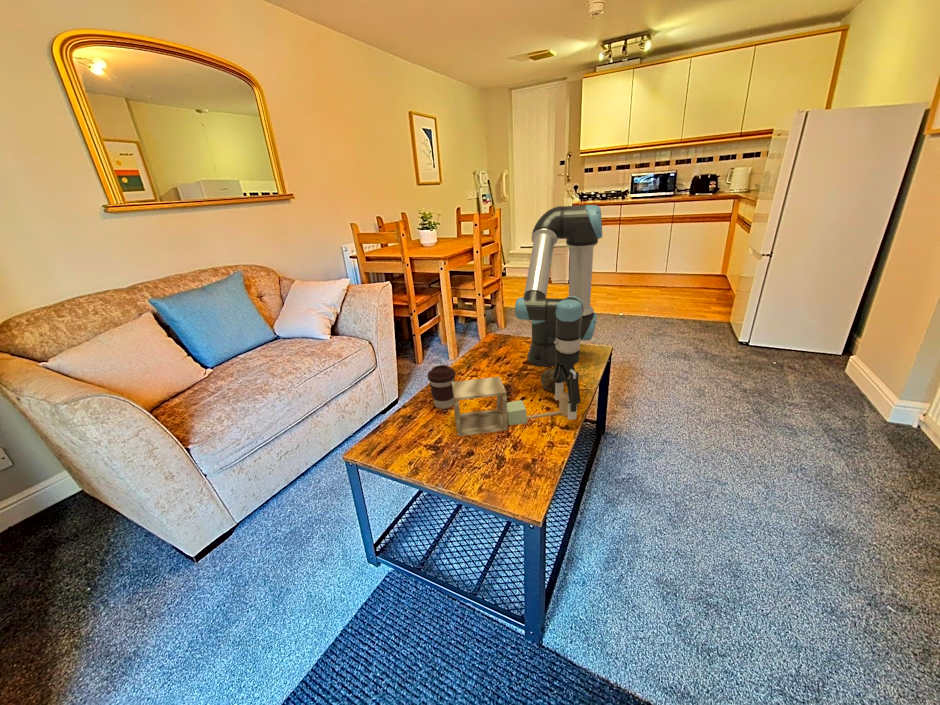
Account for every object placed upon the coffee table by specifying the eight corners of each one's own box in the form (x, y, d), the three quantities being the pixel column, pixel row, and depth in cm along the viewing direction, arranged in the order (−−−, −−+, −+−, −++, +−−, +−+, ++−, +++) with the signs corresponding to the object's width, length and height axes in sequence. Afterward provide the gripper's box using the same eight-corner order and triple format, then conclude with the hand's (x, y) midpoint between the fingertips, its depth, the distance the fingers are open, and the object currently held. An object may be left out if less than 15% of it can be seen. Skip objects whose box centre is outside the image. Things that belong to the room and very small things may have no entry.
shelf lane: (500, 414, 137) (499, 376, 131) (507, 432, 127) (506, 392, 121) (455, 420, 135) (451, 381, 129) (458, 438, 125) (454, 398, 119)
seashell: (559, 398, 145) (560, 378, 142) (535, 392, 149) (535, 373, 146) (569, 384, 153) (570, 366, 150) (547, 380, 158) (547, 362, 155)
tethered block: (566, 410, 136) (566, 390, 133) (572, 419, 131) (572, 398, 128) (505, 420, 135) (503, 400, 132) (509, 430, 129) (507, 409, 126)
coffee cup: (437, 415, 138) (433, 377, 133) (427, 403, 147) (422, 367, 141) (462, 407, 142) (459, 370, 137) (451, 396, 151) (447, 360, 145)
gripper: (544, 337, 135) (543, 392, 143) (569, 366, 112) (566, 430, 121) (565, 335, 135) (563, 390, 144) (594, 363, 113) (590, 427, 122)
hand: (565, 408), depth 132 cm, fingers open, 12 cm apart
